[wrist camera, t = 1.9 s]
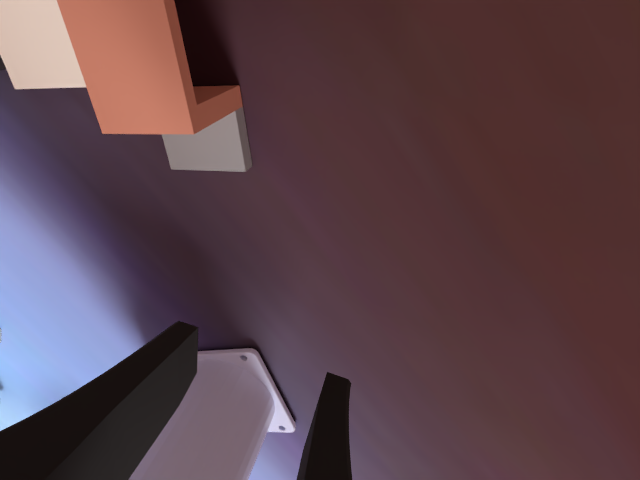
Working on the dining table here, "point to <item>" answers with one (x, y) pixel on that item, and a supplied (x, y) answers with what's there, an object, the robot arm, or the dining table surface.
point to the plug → (37, 46)
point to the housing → (154, 83)
